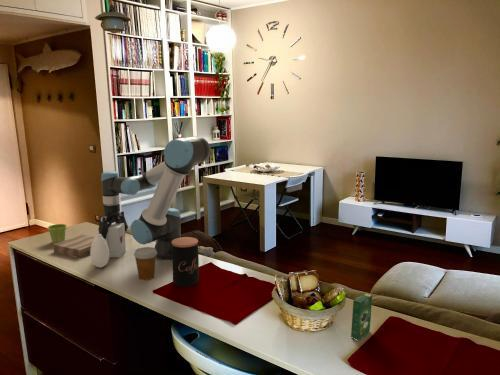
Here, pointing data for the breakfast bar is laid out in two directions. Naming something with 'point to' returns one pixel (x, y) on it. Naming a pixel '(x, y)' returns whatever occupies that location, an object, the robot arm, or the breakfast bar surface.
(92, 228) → the breakfast bar surface
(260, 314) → the breakfast bar surface
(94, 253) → the white teardrop-shaped piece
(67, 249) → the walnut riser
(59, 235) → the plant pot
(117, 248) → the supplement box
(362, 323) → the coffee box
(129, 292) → the breakfast bar surface
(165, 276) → the breakfast bar surface
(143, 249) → the disposable coffee cup
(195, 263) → the coffee jar
